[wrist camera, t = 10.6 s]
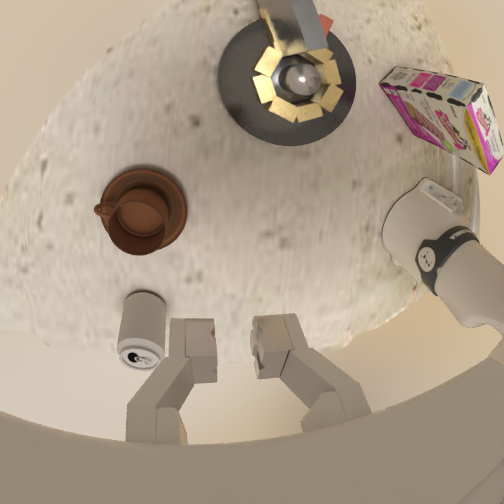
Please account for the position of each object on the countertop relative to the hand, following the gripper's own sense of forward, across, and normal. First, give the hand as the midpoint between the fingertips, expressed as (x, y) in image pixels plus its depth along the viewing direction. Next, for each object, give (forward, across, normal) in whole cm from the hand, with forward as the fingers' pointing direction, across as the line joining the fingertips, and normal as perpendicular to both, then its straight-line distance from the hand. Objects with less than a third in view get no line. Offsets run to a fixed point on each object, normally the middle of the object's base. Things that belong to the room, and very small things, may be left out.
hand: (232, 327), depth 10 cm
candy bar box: (+28, -28, -11) cm, 41 cm away
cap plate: (+28, -9, -10) cm, 30 cm away
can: (+27, +11, +27) cm, 40 cm away
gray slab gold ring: (+25, -7, -13) cm, 29 cm away
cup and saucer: (+28, +9, +8) cm, 30 cm away
